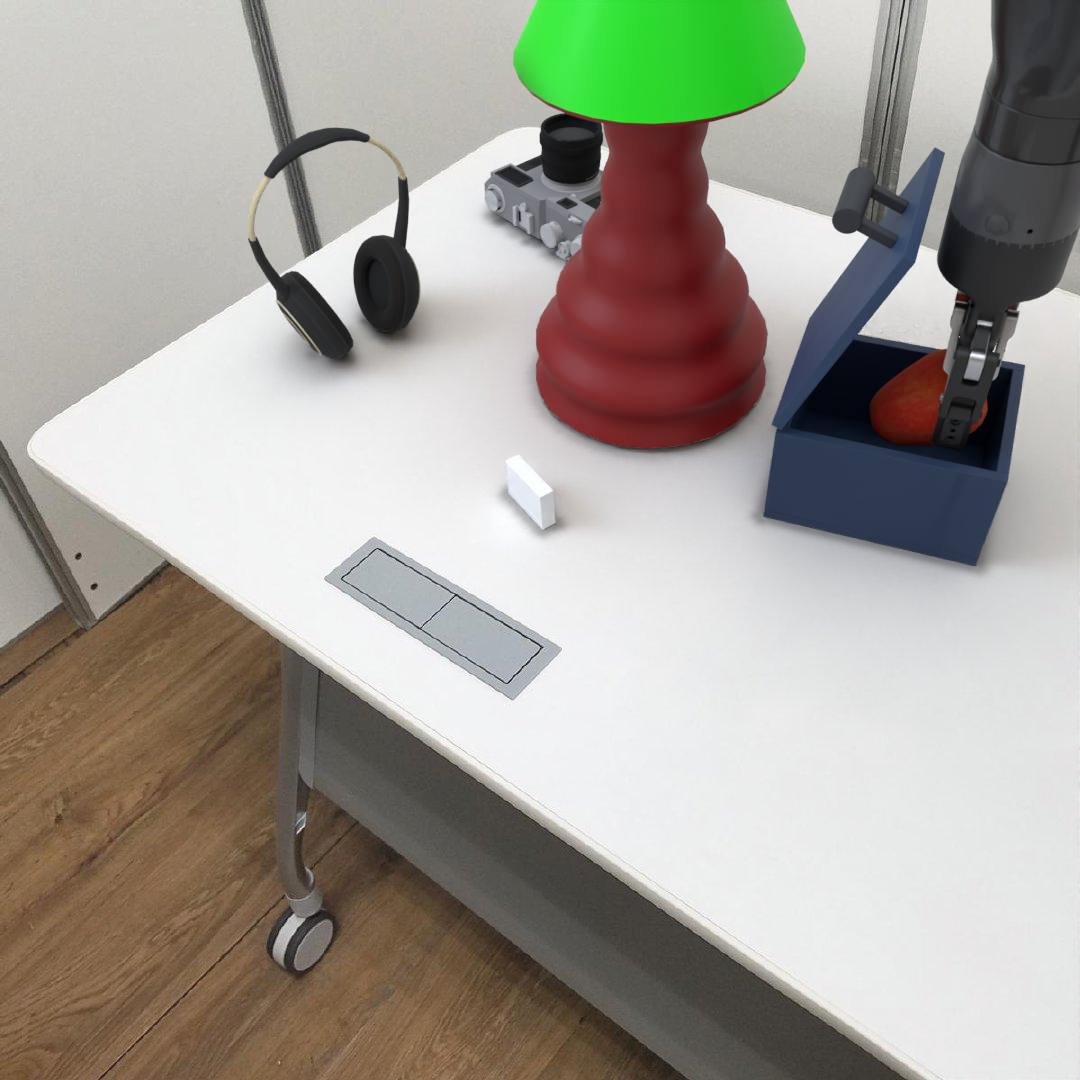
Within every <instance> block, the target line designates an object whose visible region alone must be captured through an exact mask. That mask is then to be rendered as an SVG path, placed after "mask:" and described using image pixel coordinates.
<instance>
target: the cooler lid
mask: <svg viewBox="0 0 1080 1080" xmlns="http://www.w3.org/2000/svg"><path fill="white" fill-rule="evenodd" d="M945 155H946V152H944V151H943V150H941V149H939V148H937V147H933V149H932V150H931V152H930V153H929V154H928V156H927V157H926V158H925V160H924V161H923V162H922V164H921V165H920V167H919V168H918V170H917V171H916V172H915V173H914V175H913V176H912V178H911V179H910V180H909V182H908V183H907V184H906V185H905V187H904V188H903V190H902V191H901V192H900V194H899V195H898V194H896V193H894V192H893V191H891V190H889V189H887V188H885V187H883V186H882V185H880V184H878V183H876V181H877V178H876V174H875V173H874V171H873V170H871V168H868V167H866V166H858V167H855V168H853V169H852V170H850V171H849V173H848V174H847V176H846V179H845V182H844V185H843V188H842V190H841V193H840V196H839V199H838V201H837V203H836V207H835V210H834V212H833V215H832V216H831V217H832V218H831V223H832V227H833V228H834V229H835V230H836V231H837V232H838V233H840V234H845V235H850V234H854V233H856V232H858V233H860V234H862V235H863V236H866V237H867V239H866V240H865V242H864V243H863V244H862V246H861V247H860V249H859V250H857V253H856V254H855V255H854V256H853V258H852V259H851V260H850V262H849V264H848V265H847V266H846V268H845V269H844V270H843V271H842V273H841V274H840V276H839V277H838V278H837V280H836V281H835V283H833V285H832V287H831V288H830V289H829V291H828V292H827V293H826V295H825V296H824V297H823V299H822V300H821V301H820V303H819V304H818V306H817V307H816V308H815V310H814V311H813V313H811V315H810V317H809V318H808V321H807V324H806V327H805V329H804V332H803V335H802V337H801V340H800V343H799V346H798V349H797V352H796V355H795V357H794V360H793V363H792V366H791V369H790V371H789V374H788V377H787V380H786V382H785V384H784V385H785V386H784V388H783V391H782V394H781V397H780V400H779V402H778V405H777V407H776V411H775V414H774V417H773V419H772V422H771V426H772V427H774V428H776V429H777V428H778V429H780V430H782V428H783V427H784V426H785V425H786V423H787V422H788V421H789V420H790V418H791V417H792V416H793V415H794V413H795V412H796V411H797V410H798V408H799V407H800V406H801V405H802V403H803V402H804V401H805V400H806V398H807V397H808V396H809V395H810V393H811V392H812V391H813V390H814V388H815V387H816V386H817V385H818V383H819V382H820V381H821V380H822V378H823V377H824V376H825V375H826V373H827V372H828V371H829V370H830V368H831V367H832V366H833V365H834V363H835V362H836V361H837V360H838V358H839V357H840V356H841V355H842V353H843V352H844V351H845V350H846V348H847V347H848V346H849V345H850V343H851V342H852V341H853V340H854V338H855V337H856V336H857V335H858V334H860V333H861V331H862V330H863V328H864V327H865V326H866V325H867V323H868V322H869V321H870V320H871V319H872V317H873V316H874V315H875V313H876V312H878V309H880V307H881V306H882V305H883V303H884V302H886V300H887V298H888V297H889V296H890V295H891V294H892V292H893V291H894V290H895V288H896V287H897V286H898V284H900V282H902V280H903V278H904V277H905V276H906V274H908V272H909V271H910V270H911V268H912V267H913V266H914V265H915V263H916V261H917V258H918V253H919V251H920V247H921V243H922V239H923V235H924V232H925V228H926V225H927V221H928V217H929V213H930V209H931V206H932V203H933V199H934V195H935V191H936V188H937V184H938V181H939V177H940V173H941V170H942V166H943V162H944V159H945ZM870 200H874V201H876V202H878V203H880V205H881V204H882V205H883V206H885V207H886V208H888V210H887V211H886V213H885V214H884V216H883V217H882V218H881V220H880V221H879V222H878V223H877V222H874V221H873V220H871V219H869V218H867V217H865V215H866V212H867V209H868V206H869V203H870Z"/></svg>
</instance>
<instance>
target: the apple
mask: <svg viewBox="0 0 1080 1080" xmlns="http://www.w3.org/2000/svg"><path fill="white" fill-rule="evenodd" d="M940 349H941V350H937V351H935V352H933V353H930V354H928V355H926V356H924V357H923V358H921V359H920V360H918V361H917V362H915V363H914V364H912V365H911V366H909V367H908V368H906V369H905V370H903V371H902V372H901V373H899V374H898V375H897V376H895V377H894V378H893V379H892V380H890V381H889V382H888V383H887V384H886V385H884V386H883V387H882V388H881V389H880V390H879V391H878V392H877V393H876V395H875V396H874V397H873V399H872V400H871V403H870V418H871V423H872V426H873V429H874V430H875V432H876V433H877V434H878V436H880V437H881V438H882V439H884V440H885V441H886V442H887V443H890V444H894V445H898V446H935V445H934V444H933V443H932V437H933V433H934V429H935V426H936V422H937V419H938V416H939V412H940V411H938V407H939V403H941V401H939V400H940V396H941V393H942V394H943V393H944V389H945V385H946V382H947V378H948V374H947V373H946V372H945V371H944V369H943V362H944V358H945V354H946V351H947V348H940ZM955 351H957V350H955ZM987 411H988V408H987V397H986V400H985V403H984V406H983V409H982V412H983V414H982V418H981V419H979V421H978V423H977V424H974V423H972V427H971V430H970V433H972V432H973V431H975V430H976V429H977V428H978V427H979V426H980V425H981V424H982V422H983V420H984V418H985V416H986V413H987ZM970 433H969V434H970Z"/></svg>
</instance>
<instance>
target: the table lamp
mask: <svg viewBox="0 0 1080 1080" xmlns="http://www.w3.org/2000/svg"><path fill="white" fill-rule="evenodd" d="M806 50H807V47H806V45H805V41H804V38H803V36H802V33H801V30H800V29H799V26H798V24H797V21H796V19H795V17H794V15H793V13H792V10H791V8H790V5H789V3H788V1H787V0H536V1H535V4H534V6H533V8H532V10H531V12H530V15H529V17H528V19H527V21H526V24H525V25H524V28H523V30H522V32H521V34H520V37H519V39H518V40H517V43H516V45H515V47H514V49H513V56H512V57H513V59H512V65H513V68H514V71H515V73H516V75H517V78H518V80H519V82H520V83H521V84H522V85H523V86H524V87H525V88H526V90H527V91H528V92H529V93H530V94H531V95H532V96H533V97H535V98H536V99H538V100H539V101H541V102H542V103H543V104H545V105H547V106H548V107H549V108H553V109H555V110H557V111H559V112H562V113H566V114H568V115H571V116H575V117H578V118H582V119H586V120H589V121H593V122H598V123H601V124H602V129H603V135H604V137H605V141H606V145H607V147H608V156H607V159H606V162H605V164H604V167H603V170H602V171H603V173H602V177H601V181H600V190H601V204H600V205H599V207H598V208H597V209H596V210H595V211H594V213H593V214H592V215H591V217H590V218H589V220H588V222H587V223H586V225H585V227H584V230H583V234H582V239H581V248H580V249H579V250H578V251H577V252H576V253H575V254H574V255H573V256H572V255H571V256H572V257H571V258H570V259H569V261H568V260H567V261H566V263H565V265H564V266H563V268H562V269H561V271H560V272H559V276H558V279H557V282H556V285H555V286H556V287H555V295H554V296H552V297H551V299H550V300H549V302H548V304H547V305H546V306H545V308H544V310H543V312H541V315H540V317H539V320H538V322H537V326H536V329H535V346H536V351H537V355H538V357H537V361H536V364H535V379H536V380H535V381H536V384H537V388H538V392H539V394H540V396H541V398H542V400H543V402H544V403H545V405H546V406H547V408H548V410H549V411H551V412H552V414H554V416H556V417H557V418H558V419H559V420H560V421H561V422H562V423H564V424H566V425H568V426H569V427H570V428H572V429H574V430H576V431H577V432H579V433H580V434H583V435H586V436H588V437H590V438H591V439H595V440H597V441H600V442H602V443H606V444H610V445H613V446H617V447H622V448H629V449H630V448H631V449H644V450H648V449H650V450H651V449H663V448H664V449H665V448H674V447H681V446H686V445H687V446H688V445H693V444H696V443H698V442H702V441H705V440H708V439H711V438H713V437H715V436H717V435H719V434H720V433H722V432H724V431H726V430H728V429H730V428H731V427H734V426H735V425H736V424H737V423H738V422H740V421H741V420H742V419H743V418H744V417H746V416H747V415H748V414H749V413H750V412H751V410H752V409H753V408H754V406H756V404H757V403H758V401H760V398H761V395H762V393H763V391H764V388H765V386H766V379H767V377H766V376H767V368H766V363H765V359H764V358H765V355H766V351H767V347H768V346H767V345H768V336H769V335H768V334H769V333H768V328H767V323H766V319H765V316H764V315H763V314H762V311H761V310H760V308H759V306H758V305H757V303H756V302H755V300H754V298H752V297H751V295H750V287H749V286H750V285H749V281H748V276H747V273H746V271H745V270H744V269H743V266H742V264H741V263H740V262H739V260H738V259H737V257H735V256H734V254H732V252H730V250H729V249H728V248H726V244H727V242H726V240H727V239H726V234H725V230H724V229H725V228H724V226H723V224H722V222H721V220H720V218H719V217H718V215H717V213H716V212H715V211H714V210H713V208H712V207H711V206H710V205H709V203H708V195H709V189H710V179H709V173H708V169H707V165H706V163H705V160H704V158H703V154H702V153H703V152H702V150H703V149H702V148H703V145H704V143H705V140H706V138H707V134H708V130H709V126H710V125H709V124H710V123H713V122H718V121H720V120H724V119H727V118H731V117H735V116H739V115H742V114H744V113H747V112H749V111H751V110H753V109H756V108H758V107H761V106H763V105H765V104H767V103H768V102H770V101H771V100H773V99H774V98H776V97H778V96H779V95H782V93H783V92H784V91H785V90H787V88H788V87H789V86H790V85H791V84H793V82H795V80H796V78H797V77H798V75H799V74H800V72H801V70H802V68H803V66H804V65H805V61H806Z"/></svg>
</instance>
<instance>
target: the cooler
mask: <svg viewBox="0 0 1080 1080" xmlns="http://www.w3.org/2000/svg"><path fill="white" fill-rule="evenodd" d="M941 349H942V348H935V347H931V346H925V345H919V344H915V343H909V342H903V341H897V340H893V339H888V338H882V337H877V336H872V335H871V336H870V335H866V334H861V333H858V335H857V336H856V337H855V338H854V340H853V341H852V342H851V343H850V345H849V346H848V347H847V348H846V350H845V351H844V352H843V353H842V355H841V356H840V357H839V358H838V360H837V361H836V362H835V363H834V365H833V366H832V367H831V368H830V370H829V371H828V372H827V373H826V375H825V376H824V377H823V378H822V380H821V381H820V382H819V383H818V385H817V386H816V387H815V388H814V390H813V391H812V392H811V393H810V395H809V396H808V397H807V398H806V400H805V401H804V402H803V403H802V405H801V406H800V407H799V408H798V410H797V411H796V412H795V413H794V415H793V416H792V417H791V418H790V420H789V421H788V422H787V423H786V425H785V426H784V427H783V428H782V430H780V429H778V428H776V430H775V433H774V439H773V440H774V441H773V447H772V453H771V460H770V466H769V467H770V468H769V474H768V482H767V488H766V494H765V501H764V509H763V517H764V518H769V519H772V520H773V519H774V520H778V521H781V522H786V523H790V524H794V525H799V526H803V527H806V528H807V527H808V528H811V529H815V530H821V531H825V532H829V533H833V534H837V535H842V536H845V537H849V538H855V539H859V540H862V541H867V542H871V543H874V544H880V545H883V546H888V547H892V548H897V549H901V550H906V551H909V552H914V553H919V554H922V555H927V556H930V557H935V558H940V559H944V560H948V561H951V562H952V561H953V562H956V563H960V564H964V565H969V566H974V567H975V566H977V563H978V561H979V558H980V555H981V553H982V550H983V547H984V545H985V542H986V539H987V537H988V535H989V532H990V530H991V527H992V524H993V522H994V520H995V516H996V514H997V511H998V509H999V506H1000V503H1001V501H1002V498H1003V496H1004V493H1005V491H1006V487H1007V485H1008V481H1009V477H1010V476H1009V475H1010V469H1011V468H1010V467H1011V464H1012V463H1011V462H1012V455H1013V451H1014V450H1013V449H1014V442H1015V435H1016V429H1017V423H1018V416H1019V409H1020V404H1021V403H1020V402H1021V396H1022V389H1023V383H1024V376H1025V371H1026V364H1023V363H1019V362H1018V363H1017V362H1012V361H1008V360H1002V362H1001V366H1000V369H999V373H998V376H997V378H996V379H995V380H993V381H992V383H991V386H990V389H989V391H988V394H987V408H988V411H987V413H986V416H985V418H984V420H983V422H982V424H981V425H980V426H979V427H978V428H977V429H976V430H975V431H973V432H972V433H970V434H969V436H968V439H967V442H966V445H965V448H964V449H962V450H953V449H948V448H943V447H939V446H898V445H894V444H890V443H887V442H886V441H885V440H884V439H882V438H881V437H880V436H878V434H877V433H876V432H875V430H874V429H873V426H872V423H871V418H870V403H871V400H872V399H873V397H874V396H875V395H876V393H877V392H878V391H879V390H880V389H881V388H882V387H883V386H884V385H886V384H887V383H888V382H889V381H890V380H892V379H893V378H894V377H895V376H897V375H898V374H899V373H901V372H902V371H903V370H905V369H906V368H908V367H909V366H911V365H912V364H914V363H915V362H917V361H918V360H920V359H921V358H923V357H924V356H926V355H928V354H930V353H933V352H935V351H937V350H941Z"/></svg>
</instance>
